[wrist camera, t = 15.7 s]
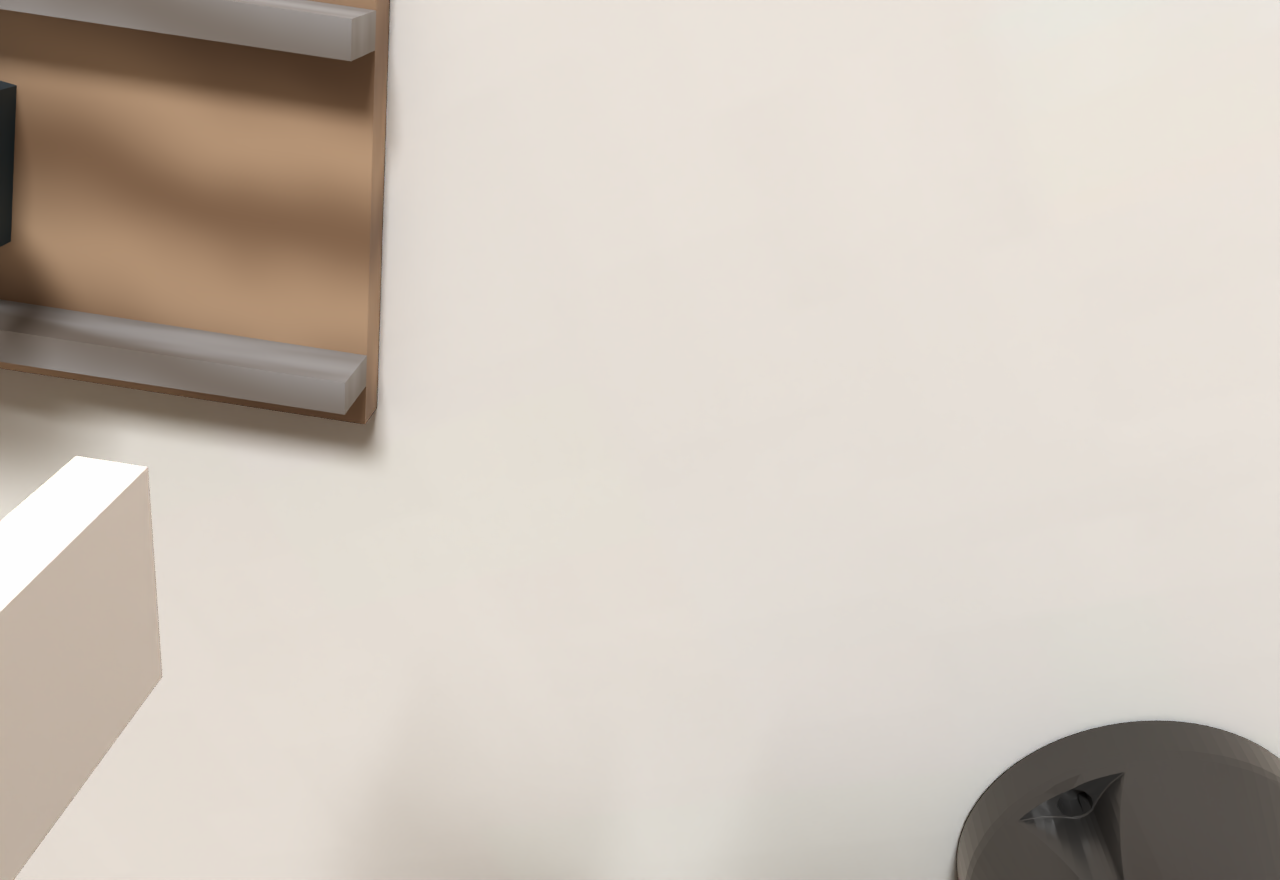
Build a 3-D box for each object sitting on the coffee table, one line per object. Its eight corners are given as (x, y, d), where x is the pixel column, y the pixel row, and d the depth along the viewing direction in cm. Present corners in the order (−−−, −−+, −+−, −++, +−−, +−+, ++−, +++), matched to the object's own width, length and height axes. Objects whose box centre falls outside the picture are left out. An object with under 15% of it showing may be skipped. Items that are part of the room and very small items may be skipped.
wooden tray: (376, 407, 44) (344, 454, 40) (-242, 312, 44) (-330, 350, 40) (391, -46, 36) (352, -38, 33) (-347, -155, 37) (-464, -159, 33)
